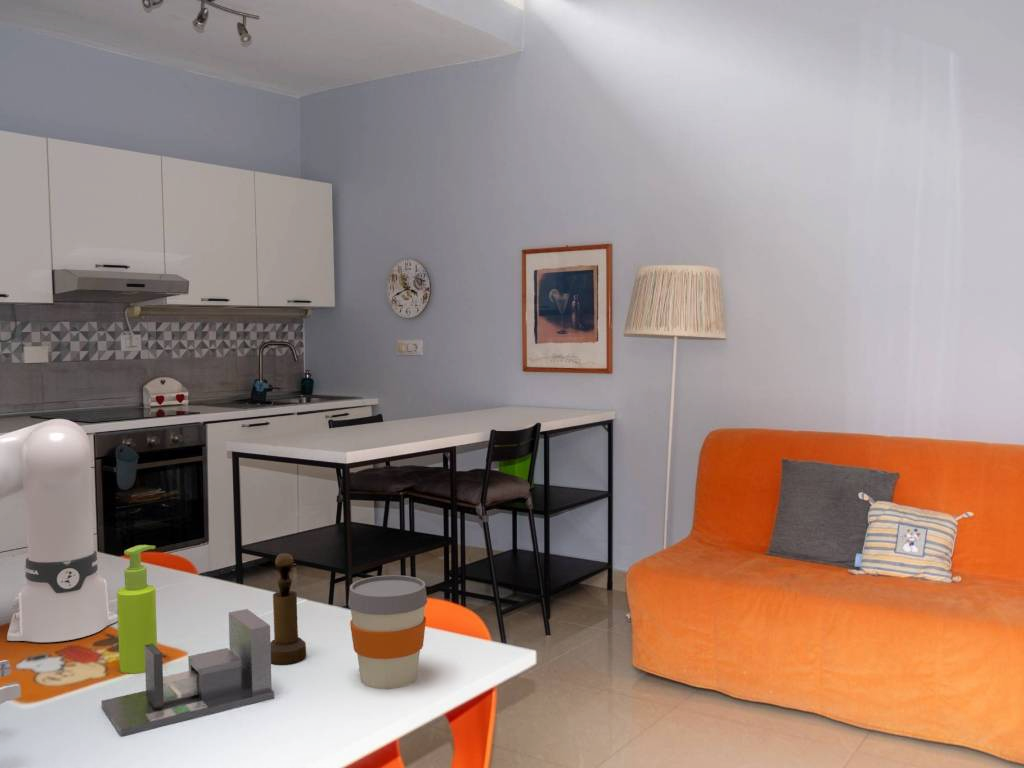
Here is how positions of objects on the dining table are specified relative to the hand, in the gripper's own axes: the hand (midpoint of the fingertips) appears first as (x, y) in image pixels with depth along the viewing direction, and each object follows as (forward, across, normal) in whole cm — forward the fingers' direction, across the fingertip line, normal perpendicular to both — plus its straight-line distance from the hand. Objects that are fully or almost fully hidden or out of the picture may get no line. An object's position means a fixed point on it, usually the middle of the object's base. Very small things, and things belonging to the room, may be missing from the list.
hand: (14, 677), depth 124 cm
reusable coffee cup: (+52, +8, -10) cm, 54 cm away
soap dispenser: (+21, -21, -10) cm, 31 cm away
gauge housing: (+23, -1, -10) cm, 25 cm away
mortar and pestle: (+42, -10, -10) cm, 44 cm away
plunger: (+23, +1, -8) cm, 24 cm away
